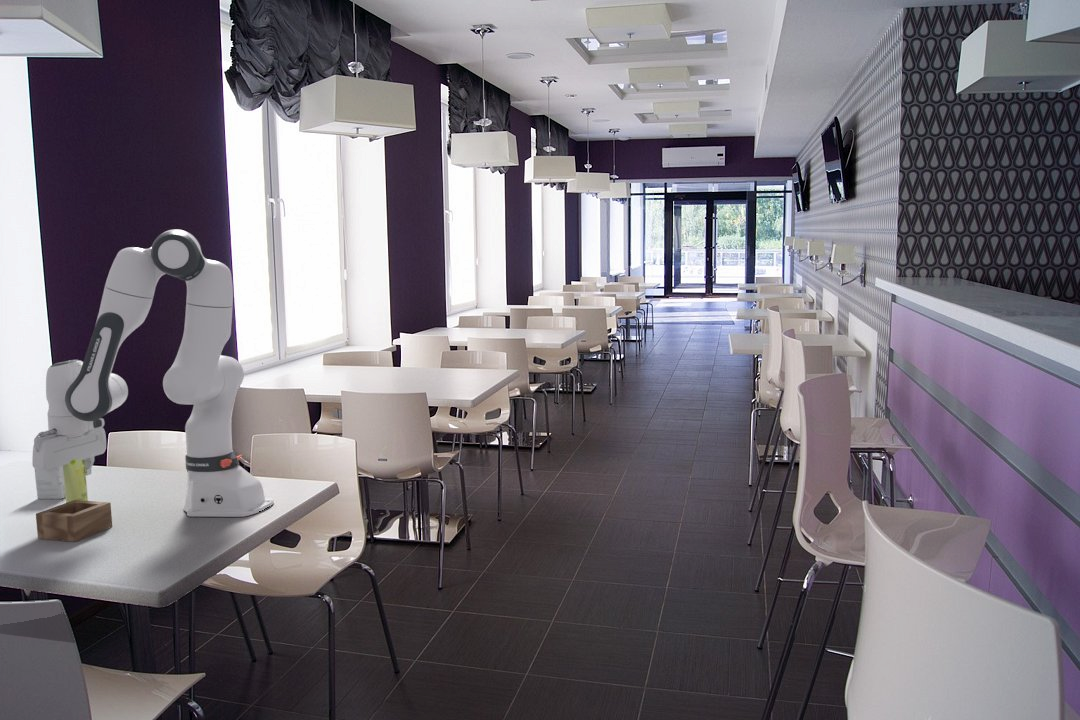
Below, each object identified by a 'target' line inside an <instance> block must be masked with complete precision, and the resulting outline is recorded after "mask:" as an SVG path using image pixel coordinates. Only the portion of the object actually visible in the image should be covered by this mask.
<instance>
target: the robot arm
mask: <svg viewBox="0 0 1080 720" xmlns="http://www.w3.org/2000/svg"><path fill="white" fill-rule="evenodd" d="M202 252H203V249H202V246H201V243H200V241H199V240H198V238H197V237H195V236H194V234H192V233H190V232H189V231H186V230H183V229H178V228H177V229H176V228H175V229H168V230H166V231H164V232H162V233H161V234H159V235H158V236H157V237H156V238H155V239H154V241H153V242H152V244H151V246H150V247H149V248H142V247H135V246H131V247H130V246H129V247H125V248H122V249H120V250H119V251H118V252H117V254H116V256H115V258H114V259H113V261H112V264H111V267H110V269H109V272H108V275H107V278H106V281H105V284H104V288H103V292H102V296H101V301H100V306H99V311H98V314H97V318H96V322H95V326H94V329H93V332H92V335H91V338H90V341H89V344H88V347H87V350H86V352H85V356H84V359H83V361H82V360H79V359H70V360H65V361H64V360H63V361H61V362H56V363H54V364H52V365H50V366H49V367H48V368H47V371H46V374H45V375H46V377H45V397H46V401H47V403H48V411H47V427H48V430H45V431H41V432H38V434H37V435H36V436H35V438H34V440H33V447H32V457H31V458H32V463H31V464H32V467H33V468H34V470H35V469H36V470H42V471H46V470H47V473H48V474H49V476H50V477H51V479H52V485H59V484H62V477H59V476H58V474H57V471H58V467H60V466H63V465H67V464H69V463H70V462H71V461H72V460H83V459H84V463H85V473H86V477H87V476H90V475H92V467H93V465H94V462H95V457H97V456H100V455H103V454H104V453H105V452H106V449H107V437H106V431H105V429H104V426H105V419H104V418H103V417H105V416H106V415H107V414H108V413H111V412H112V411H114V410H115V409H118V408H119V407H121V406H123V404H124V403H125V402H126V400H127V399H128V396H129V386H128V384H127V382H126V380H125V379H124V378H123V377H122V376H120V374H117V373H114V372H112V371H113V369H114V366H115V365H114V364H115V362H116V358H117V355H118V352H119V349H120V348H121V346H122V344H123V342H124V341H125V340H126V339H127V337H129V336H130V335H131V334H132V333H133V332H134V331H135V330H136V329H138V328H139V327H140V326H142V324H143V323H144V322H145V320H146V318H147V317H148V314H149V312H150V309H151V307H152V304H153V300H154V296H155V292H156V287H157V284H158V282H159V280H160V278H161V277H162V276H164V275H168V276H170V277H171V276H172V277H173V278H176V279H179V280H181V281H185V284H186V300H185V301H186V302H185V304H186V305H185V317H184V329H183V335H182V339H181V343H180V345H179V347H178V351H177V354H176V356H175V358H174V360H173V363H172V364H171V367H169V369H167V371H166V373H165V374H164V376H163V379H162V387H163V391H164V393H165V395H166V397H167V398H168V399H169V400H170V401H172V403H176V404H178V405H193V407H192V410H191V414H190V415H189V418H188V419H187V421H186V423H185V426H184V431H185V444H186V448H185V449H186V454H185V456H184V457H185V470H186V473H187V483H186V484H187V486H186V487H187V488H186V497H185V502H184V506H183V510H184V511H185V512H186V513H187V514H186V515H187V517H209V518H210V517H217V518H218V517H221V518H223V517H227V518H228V517H229V518H230V517H231V518H232V517H233V518H235V517H236V518H237V517H238V518H239V517H241V518H242V517H247V516H251V515H255V514H258V513H260V512H259V511H261V512H263V511H265V510H266V509H265V508H267V507H269V506H270V507H271V505H272V504H273V505H274V503H273V502H274V499H273V498H271V497H266V496H265V493H264V487H263V485H262V482H261V481H260V480H259V479H258V478H256V477H255V476H254V475H253V474H251V473H250V472H248V471H247V469H245V468H243V467H242V466H241V465H240V462H239V461H240V460H242V459H243V457H242V456H243V454H239V455H236V453H235V451H234V450H233V437H232V435H233V434H232V417H233V412H234V405H235V402H236V396H237V393H238V390H239V388H240V387H241V385H242V384H243V381H244V373H245V372H244V368H243V365H242V364H241V363H240V361H239V360H237V359H236V358H234V357H233V356H228V355H222V351H223V349H224V347H225V346H226V344H227V342H228V341H229V339H230V337H231V336H232V324H233V323H232V322H233V320H232V319H233V308H234V307H233V304H234V287H233V279H232V277H233V276H232V273H231V272H232V271H231V270H230V268H229V267H228V266H227V265H226V264H225V263H223V262H221V261H218V260H213V259H208V258H206V257H205V256H204V254H203V253H202ZM273 505H272V506H273ZM270 507H269V508H270ZM264 509H265V510H264ZM267 509H268V508H267ZM262 510H263V511H262Z"/></svg>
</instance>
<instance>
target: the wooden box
mask: <svg viewBox="0 0 1080 720" xmlns="http://www.w3.org/2000/svg"><path fill="white" fill-rule="evenodd" d="M35 520H36V532H37V539H38V538H39V539H38V540H47V539H50V540H49V541H59V540H64V541H63V542H70V541H72V543H76V542H78V540H79V541H82V540H83V539H86V538H88V537H91V536H93V535H95V534H98V533H100V532H103V531H105V530H107V528H108V529H110V528H112V527H113V517H112V506H111V501H110V502H108V501H107V502H106V501H93V500H88V501H82V500H73V501H70V502H68V503H66V502H64V503H62V504H60V505H57V506H54V507H51V508H48V509H45V510H43V511H39V512H37V513H35ZM109 527H110V528H109Z"/></svg>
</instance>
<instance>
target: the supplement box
mask: <svg viewBox="0 0 1080 720" xmlns="http://www.w3.org/2000/svg"><path fill="white" fill-rule="evenodd" d="M57 474H58V476H59V477H62V484H59V485H52V479H51V477H50V476H49V474H48V473H47V470H46V471H42V470H36V469H35V468H34V477H35V478H34V479H35V486H36V497H37V499H38V500H42V499H43V500H63V499H64V497H65V484H64V473H63V466H60V467H58V471H57ZM62 498H63V499H62ZM65 498H66V497H65Z"/></svg>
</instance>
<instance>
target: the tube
mask: <svg viewBox="0 0 1080 720" xmlns="http://www.w3.org/2000/svg"><path fill="white" fill-rule="evenodd" d="M63 473H64V484H65V503H68V502H70V501H73V500H82V501H89V498H88V487H87V476H86V473H85V461H84V459H83V460H72V461H71V462H70V463H69V464H67V465H63Z"/></svg>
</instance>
